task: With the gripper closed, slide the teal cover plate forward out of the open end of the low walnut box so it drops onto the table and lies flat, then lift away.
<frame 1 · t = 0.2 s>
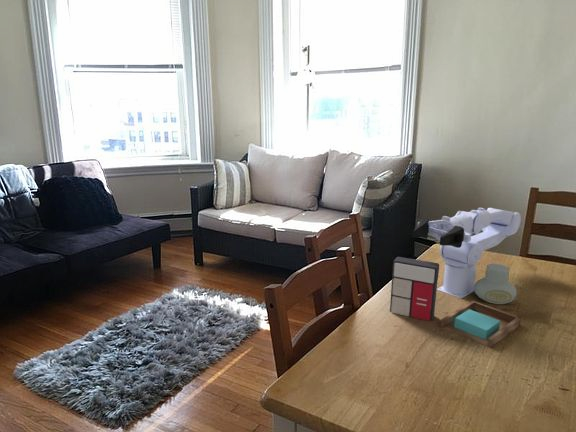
hand: (427, 237, 114), 21 cm above the table, tool horizontal, fingers open, 7 cm apart
cover plate: (476, 328, 110), resting on walnut box
walnut box: (480, 327, 112), on the table
air freshener: (493, 300, 127), on the table
calculator: (411, 316, 118), on the table
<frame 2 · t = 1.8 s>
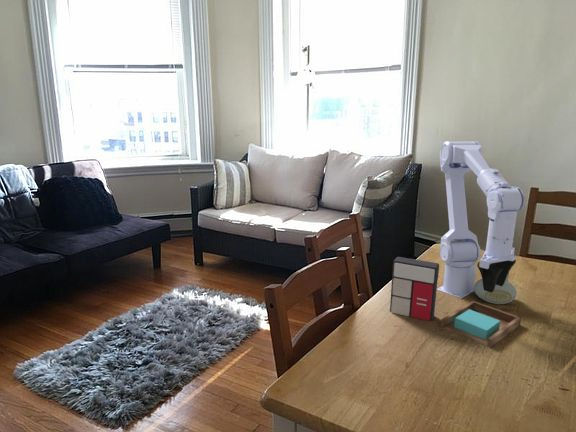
hand: (493, 287, 112), 9 cm above the table, tool pointing down, fingers open, 5 cm apart
nothing on the table moved.
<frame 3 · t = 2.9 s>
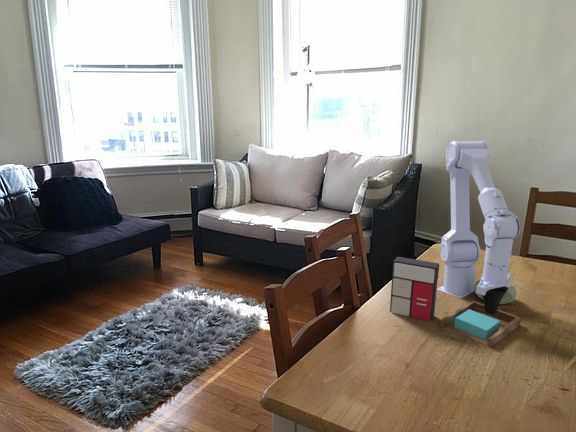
hand: (490, 312, 114), 3 cm above the table, tool pointing down, fingers closed
nothing on the table moved.
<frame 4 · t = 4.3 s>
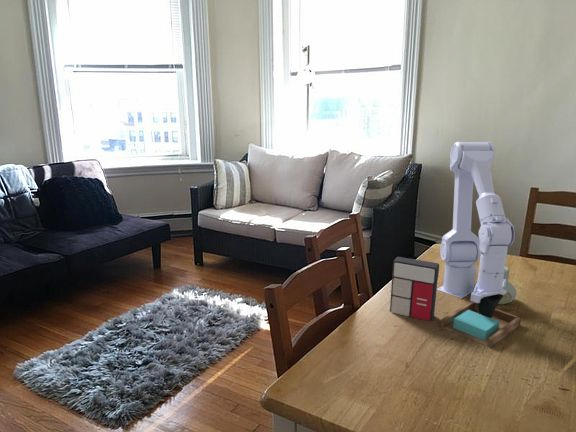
hand: (485, 319, 113), 1 cm above the table, tool pointing down, fingers closed
cover plate: (475, 329, 110), point 1 cm above the table, touching gripper, walnut box
everything else where it was.
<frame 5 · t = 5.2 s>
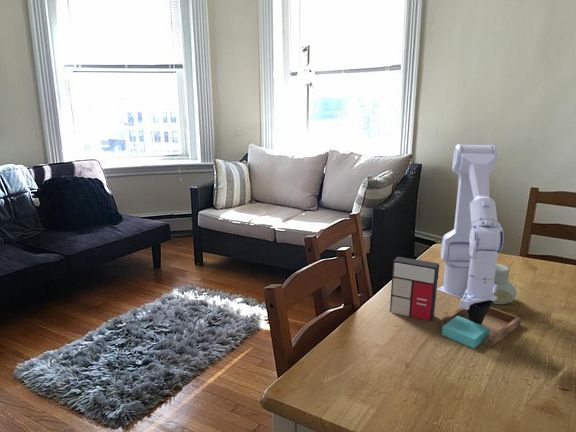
hand: (475, 326, 109), 1 cm above the table, tool pointing down, fingers closed
cover plate: (464, 336, 107), point 1 cm above the table, touching gripper, walnut box
everything else where it was.
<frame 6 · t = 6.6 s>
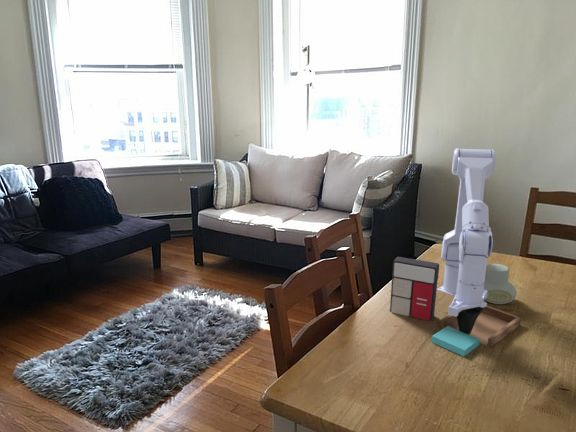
hand: (464, 333, 106), 1 cm above the table, tool pointing down, fingers closed
cover plate: (454, 347, 104), on the table, touching gripper
everything else where it was.
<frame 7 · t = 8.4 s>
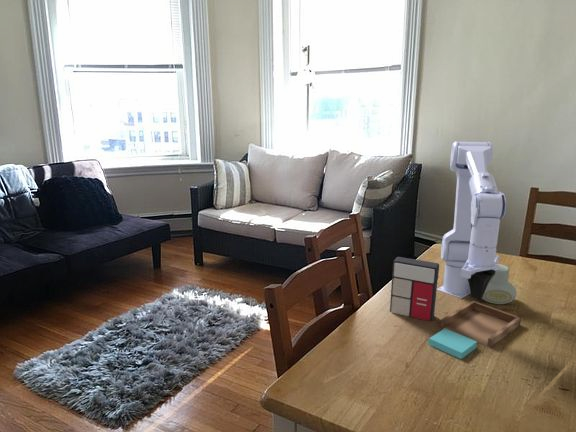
hand: (476, 297, 107), 9 cm above the table, tool pointing down, fingers closed
cover plate: (451, 349, 103), on the table
everything else where it was.
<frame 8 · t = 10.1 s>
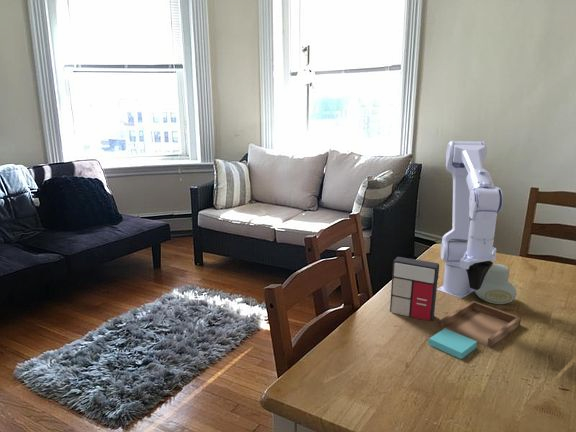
hand: (474, 288, 112), 9 cm above the table, tool pointing down, fingers closed
nothing on the table moved.
at the end: cover plate inside the target area (1.0 cm from its centre), on the table; cover plate touching table; cover plate tilted 0° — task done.
